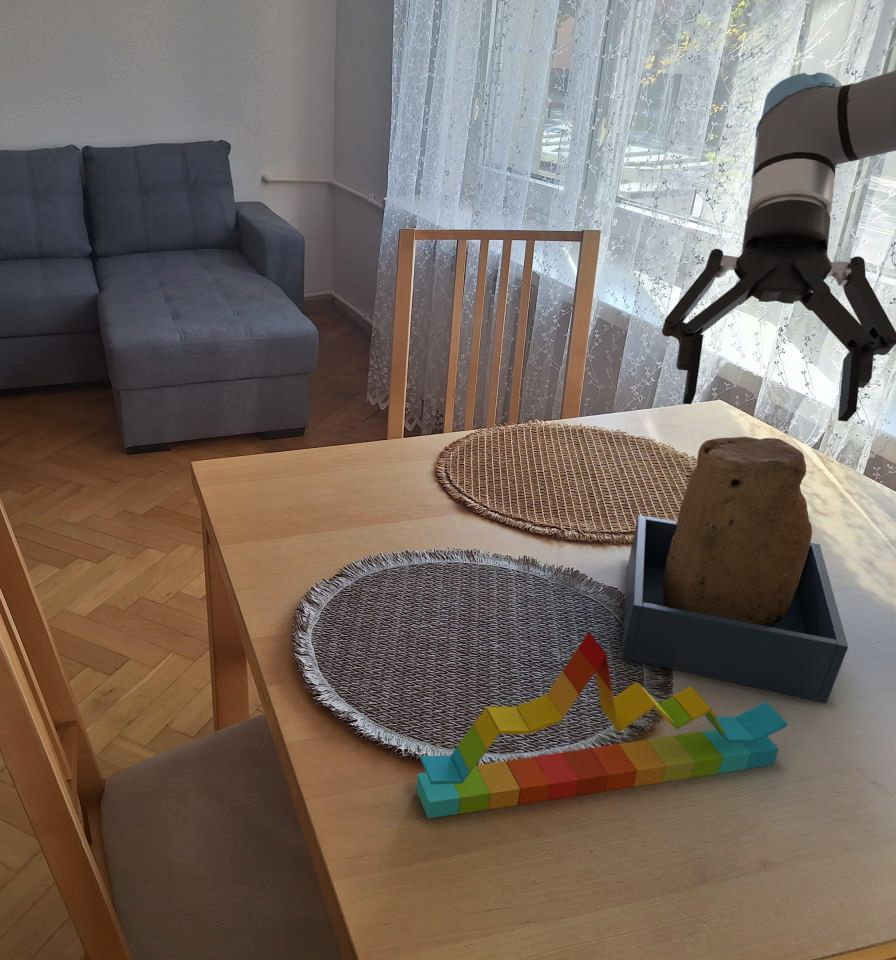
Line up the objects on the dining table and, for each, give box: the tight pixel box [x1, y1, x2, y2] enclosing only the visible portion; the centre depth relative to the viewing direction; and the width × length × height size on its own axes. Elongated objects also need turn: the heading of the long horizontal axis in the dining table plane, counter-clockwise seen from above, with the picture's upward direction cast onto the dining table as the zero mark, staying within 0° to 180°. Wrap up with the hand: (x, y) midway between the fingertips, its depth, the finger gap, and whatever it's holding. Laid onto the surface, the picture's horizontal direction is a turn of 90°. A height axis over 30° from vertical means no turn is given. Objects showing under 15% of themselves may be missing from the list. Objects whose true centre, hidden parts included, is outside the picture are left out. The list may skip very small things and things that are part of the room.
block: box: [663, 436, 813, 627], centre depth 84 cm, size 11×8×20 cm
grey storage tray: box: [621, 514, 849, 703], centre depth 87 cm, size 18×18×7 cm
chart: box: [415, 631, 789, 820], centre depth 69 cm, size 30×3×15 cm, turn 99°
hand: (765, 407), depth 84 cm, fingers open, 13 cm apart
